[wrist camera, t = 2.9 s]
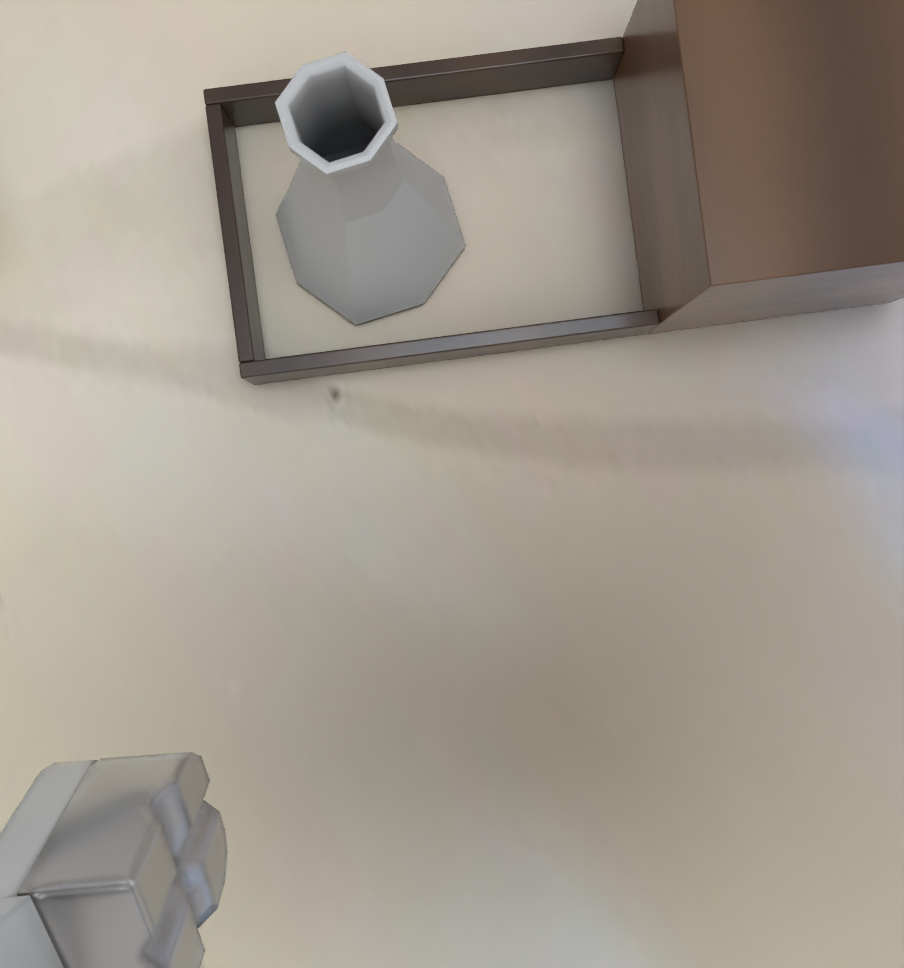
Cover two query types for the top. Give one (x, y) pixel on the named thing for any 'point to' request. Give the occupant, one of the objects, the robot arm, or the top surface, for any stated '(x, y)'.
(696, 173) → the brown block with frame
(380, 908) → the top surface
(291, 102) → the flask
